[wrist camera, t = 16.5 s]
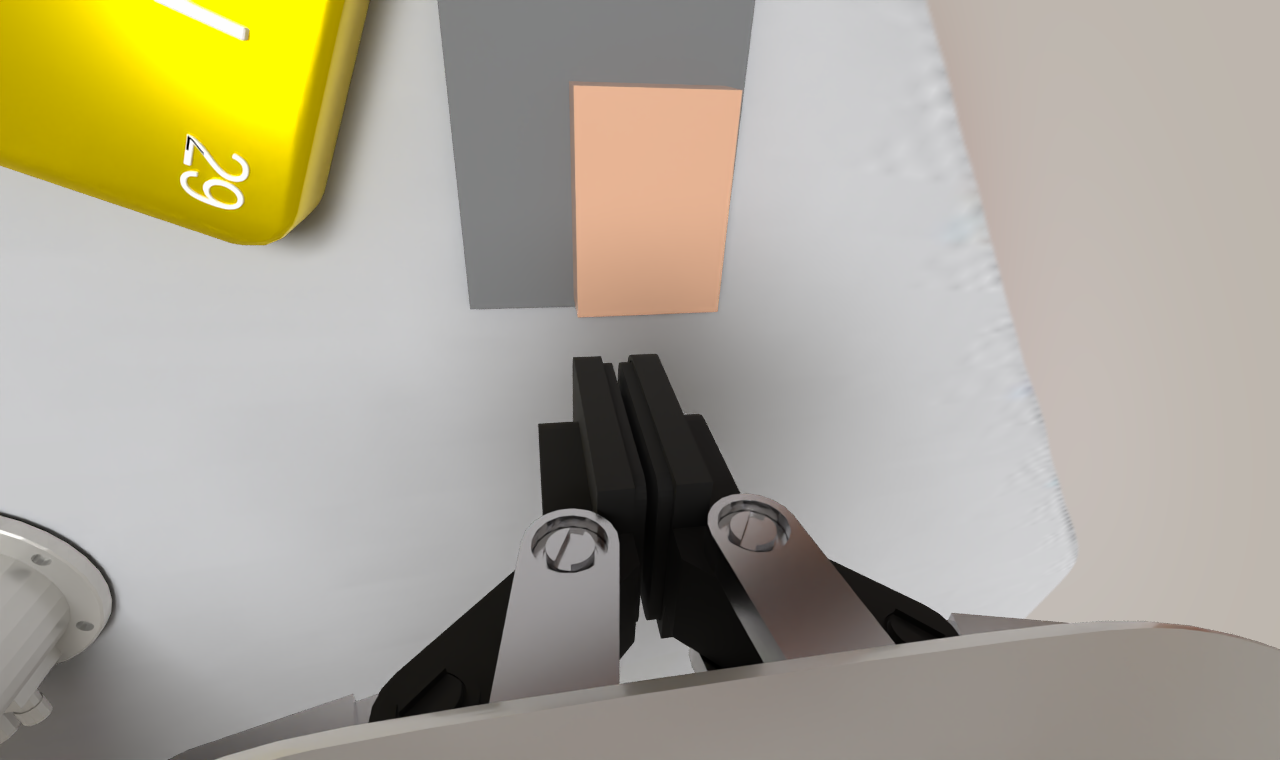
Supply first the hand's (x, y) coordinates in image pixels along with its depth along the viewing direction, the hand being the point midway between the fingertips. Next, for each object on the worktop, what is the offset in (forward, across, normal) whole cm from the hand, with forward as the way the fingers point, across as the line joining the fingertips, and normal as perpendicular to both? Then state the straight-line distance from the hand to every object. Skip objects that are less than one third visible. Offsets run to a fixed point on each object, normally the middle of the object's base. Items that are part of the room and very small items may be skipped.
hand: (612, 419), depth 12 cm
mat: (+19, -2, -3) cm, 19 cm away
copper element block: (+20, +15, -8) cm, 26 cm away
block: (+17, -1, 0) cm, 17 cm away
